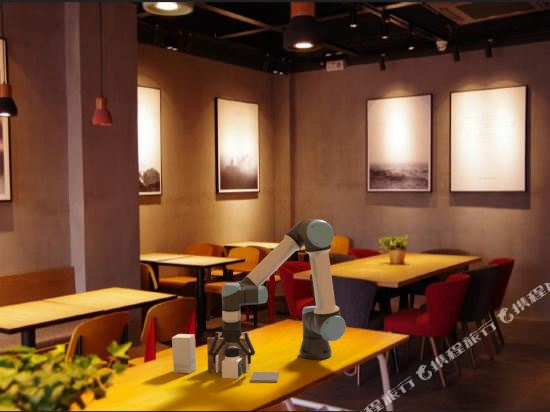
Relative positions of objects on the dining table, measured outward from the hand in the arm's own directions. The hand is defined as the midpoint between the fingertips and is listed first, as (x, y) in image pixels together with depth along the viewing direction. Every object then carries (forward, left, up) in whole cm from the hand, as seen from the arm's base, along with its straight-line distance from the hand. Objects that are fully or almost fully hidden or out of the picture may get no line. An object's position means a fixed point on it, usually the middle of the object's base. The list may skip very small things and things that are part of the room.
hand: (232, 371), depth 250 cm
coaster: (-14, +2, -2) cm, 14 cm away
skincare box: (+22, -6, -2) cm, 23 cm away
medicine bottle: (0, 0, -2) cm, 2 cm away
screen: (+3, -8, -2) cm, 9 cm away
